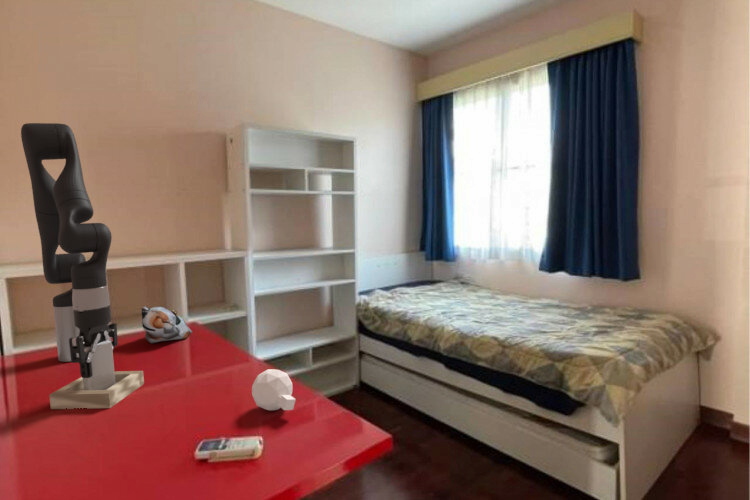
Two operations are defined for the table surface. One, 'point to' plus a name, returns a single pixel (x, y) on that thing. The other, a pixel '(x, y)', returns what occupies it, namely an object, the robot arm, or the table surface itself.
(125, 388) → the square wooden frame
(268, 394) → the perfume bottle
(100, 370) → the skincare box
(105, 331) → the robot arm
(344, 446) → the table surface
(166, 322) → the lucky cat figurine
